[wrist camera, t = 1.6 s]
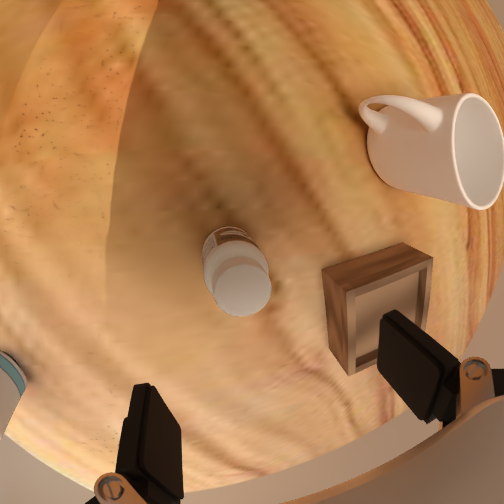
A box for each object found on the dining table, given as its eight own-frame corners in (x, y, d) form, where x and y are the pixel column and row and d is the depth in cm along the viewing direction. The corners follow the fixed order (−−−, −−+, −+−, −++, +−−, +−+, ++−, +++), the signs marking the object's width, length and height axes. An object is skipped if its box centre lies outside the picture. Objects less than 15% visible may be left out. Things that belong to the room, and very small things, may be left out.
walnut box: (320, 268, 26) (346, 292, 21) (400, 241, 27) (433, 257, 22) (328, 347, 29) (348, 376, 24) (398, 317, 30) (423, 338, 25)
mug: (348, 70, 20) (428, 36, 10) (432, 132, 23) (511, 135, 13) (320, 150, 22) (403, 148, 12) (412, 202, 25) (492, 227, 15)
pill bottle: (262, 236, 23) (292, 270, 16) (241, 282, 24) (260, 331, 17) (213, 217, 22) (222, 244, 15) (194, 265, 23) (194, 312, 16)
